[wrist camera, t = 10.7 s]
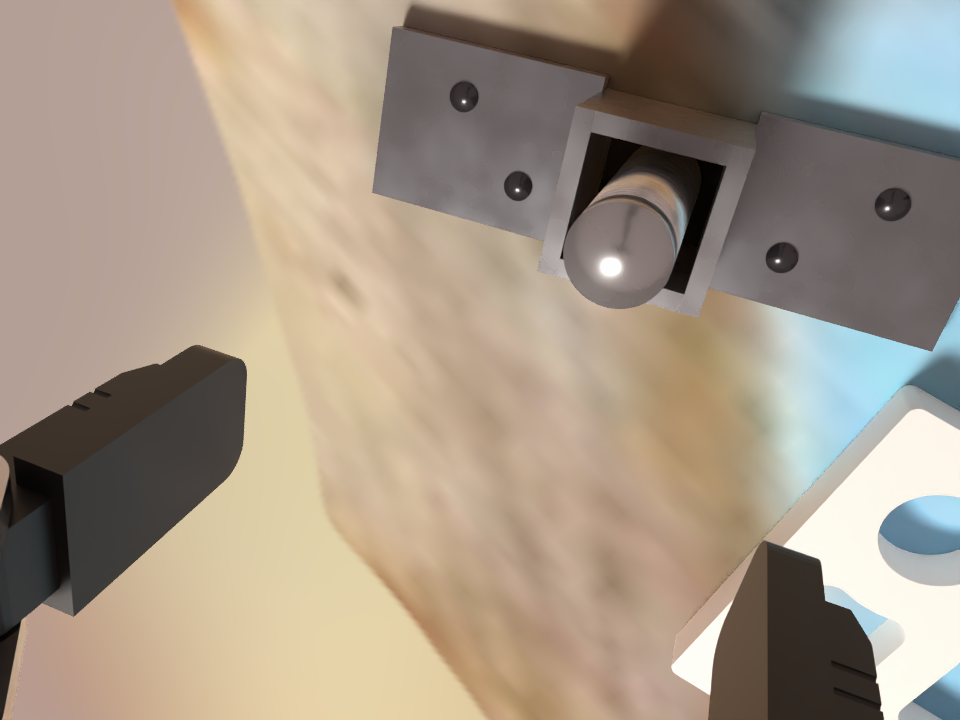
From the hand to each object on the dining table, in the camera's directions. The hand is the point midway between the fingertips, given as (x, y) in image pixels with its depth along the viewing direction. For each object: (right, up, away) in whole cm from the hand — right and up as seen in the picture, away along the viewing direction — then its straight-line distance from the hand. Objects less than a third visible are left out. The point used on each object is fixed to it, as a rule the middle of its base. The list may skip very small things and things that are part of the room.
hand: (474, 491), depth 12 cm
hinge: (+7, +9, +21) cm, 24 cm away
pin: (+8, +9, +21) cm, 24 cm away
